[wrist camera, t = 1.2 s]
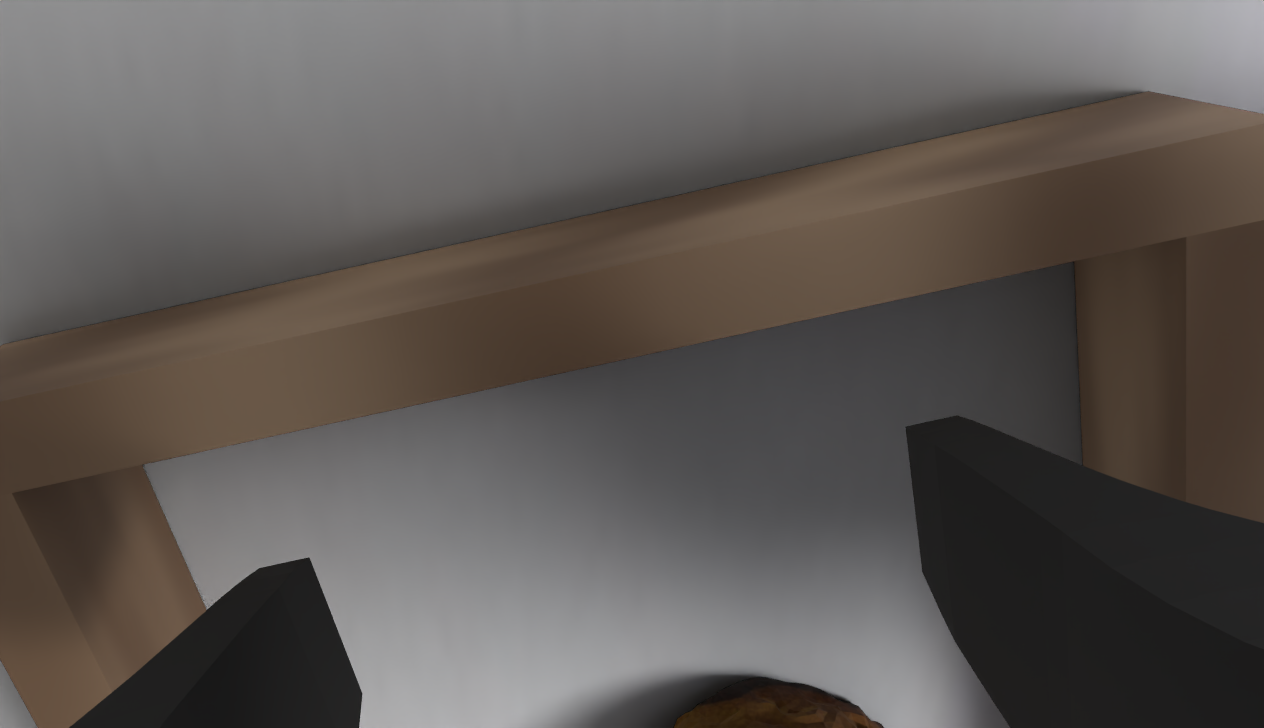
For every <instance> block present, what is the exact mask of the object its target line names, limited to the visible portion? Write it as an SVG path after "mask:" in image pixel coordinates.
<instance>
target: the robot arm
mask: <svg viewBox="0 0 1264 728" xmlns="http://www.w3.org/2000/svg"><path fill="white" fill-rule="evenodd" d="M906 434H907V443H908V452H909V460H910V469H911V478H912V486H913V495H914V503H915V512H916V521H917V529H918V538H919V547H920V555H921V564H922V572H923V574H924V577H925V579H926V581H927V583H928V585H929V587H930V590H931V592H932V594H933V596H934V598H935V601H936V603H937V605H938V607H939V609H940V612H941V614H942V616H943V618H944V620H945V622H946V624H947V626H948V628H949V630H950V632H951V634H952V636H953V638H954V640H955V642H956V644H957V645H958V647H959V649H960V650H961V652H962V653H963V655H964V657H965V658H966V660H967V661H968V663H969V664H970V666H971V667H972V669H973V671H974V672H975V674H976V675H977V677H978V678H979V680H980V681H981V683H982V685H983V686H984V688H985V689H986V691H987V692H988V694H989V695H990V697H991V699H992V700H993V702H994V703H995V705H996V706H997V708H998V709H999V711H1000V712H1001V714H1002V715H1003V717H1004V718H1005V720H1006V721H1007V723H1008V725H1009V726H1010V728H1264V523H1262V522H1258V521H1254V520H1250V519H1246V518H1242V517H1238V516H1234V515H1230V514H1227V513H1223V512H1219V511H1215V510H1211V509H1208V508H1204V507H1201V506H1198V505H1194V504H1191V503H1188V502H1184V501H1181V500H1178V499H1175V498H1172V497H1169V496H1166V495H1163V494H1160V493H1157V492H1154V491H1151V490H1148V489H1145V488H1142V487H1139V486H1136V485H1133V484H1130V483H1127V482H1125V481H1122V480H1119V479H1117V478H1114V477H1111V476H1108V475H1106V474H1103V473H1100V472H1098V471H1095V470H1093V469H1090V468H1087V467H1085V466H1082V465H1080V464H1077V463H1075V462H1072V461H1070V460H1067V459H1065V458H1062V457H1060V456H1057V455H1055V454H1052V453H1050V452H1048V451H1045V450H1043V449H1040V448H1038V447H1036V446H1033V445H1031V444H1028V443H1026V442H1024V441H1021V440H1019V439H1016V438H1014V437H1012V436H1009V435H1007V434H1005V433H1002V432H1000V431H997V430H995V429H992V428H990V427H988V426H985V425H982V424H980V423H977V422H975V421H972V420H969V419H966V418H963V417H960V416H953V417H948V418H944V419H939V420H934V421H930V422H925V423H921V424H916V425H912V426H907V427H906ZM361 702H362V692H361V689H360V687H359V684H358V681H357V679H356V676H355V674H354V671H353V669H352V666H351V663H350V661H349V658H348V656H347V653H346V651H345V648H344V645H343V643H342V640H341V638H340V635H339V633H338V630H337V627H336V625H335V622H334V620H333V617H332V615H331V612H330V609H329V607H328V604H327V602H326V599H325V597H324V594H323V591H322V589H321V586H320V584H319V581H318V579H317V576H316V573H315V571H314V568H313V566H312V563H311V561H310V558H304V559H300V560H295V561H291V562H286V563H281V564H277V565H272V566H268V567H263V568H259V569H258V570H256V571H255V572H253V573H252V574H250V575H249V576H248V577H246V578H245V579H244V580H242V581H241V582H240V583H238V584H237V585H236V586H235V587H233V588H232V589H231V590H230V591H229V592H227V593H226V594H225V595H224V596H223V597H221V598H220V599H219V600H218V601H217V602H216V603H214V604H213V605H212V606H211V607H210V608H209V609H207V610H206V611H205V612H204V613H203V614H202V615H201V616H199V617H198V618H197V619H196V620H195V621H194V622H193V623H192V624H190V625H189V626H188V627H187V628H186V629H185V630H184V631H182V632H181V633H180V634H179V635H178V636H177V637H176V638H175V639H173V640H172V641H171V642H170V643H169V644H168V645H167V646H165V647H164V648H163V649H162V650H161V651H160V652H159V653H157V654H156V655H155V656H154V657H153V658H152V659H151V660H149V661H148V662H147V663H146V664H145V665H144V666H143V667H142V668H140V669H139V670H138V671H137V672H136V673H135V674H133V675H132V676H131V677H130V678H129V679H128V680H126V681H125V682H124V683H123V684H121V685H120V686H119V687H118V688H117V689H115V690H114V691H113V692H112V693H111V694H109V695H108V696H107V697H106V698H104V699H103V700H102V701H101V702H100V703H98V704H97V705H96V706H95V707H94V708H92V709H91V710H90V711H89V712H87V713H86V714H85V715H84V716H83V717H81V718H80V719H79V720H78V721H76V722H75V723H74V724H73V725H72V726H70V727H69V728H359V722H360V712H361Z"/></svg>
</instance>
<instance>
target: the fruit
mask: <svg viewBox="0 0 1264 728" xmlns="http://www.w3.org/2000/svg"><path fill="white" fill-rule="evenodd" d="M674 728H884V727H883V726H882V724H880V723H878V722H875V721H871V720H870V719H869V718H868V717H867V716H866V715H865V714H864V712H863V711H862V710H861V709H860V707H859V706H857V705H854V704H851V703H849V702H845V701H840V700H838V699H835V698H834V697H833V696H831V695H830V694H828V693H826V692H825V691H822V690H820V689H818V688H815V687H812V686H809V685H805V684H799V683H788V682H783V681H779V680H774V679H770V678H752V679H748V680H745V681H742V682H738V683H735V684H734V685H732V686H730V687H727V688H725V689H723V690H721V691H719V692H717V693H716V694H715V695H714V696H712V697H711V698H709V699H707V700H705V701H704V702H702V703H700V704H698V705H697V706H696V707H695V708H694V709H693V710H692V711H690V712H687V713H685V714H684V715H682V716H681V717H679V718H677V721H676V724H675V726H674Z"/></svg>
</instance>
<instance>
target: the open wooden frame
mask: <svg viewBox="0 0 1264 728" xmlns="http://www.w3.org/2000/svg"><path fill="white" fill-rule="evenodd" d="M1069 262H1074V269H1075V292H1076V316H1077V339H1078V363H1079V386H1080V410H1081V433H1082V456H1083V466H1085V467H1087V468H1090V469H1093V470H1095V471H1098V472H1100V473H1103V474H1106V475H1108V476H1111V477H1114V478H1117V479H1119V480H1122V481H1125V482H1127V483H1130V484H1133V485H1136V486H1139V487H1142V488H1145V489H1148V490H1151V491H1154V492H1157V493H1160V494H1163V495H1166V496H1169V497H1172V498H1175V499H1178V500H1181V501H1184V502H1188V503H1191V504H1194V505H1198V506H1201V507H1204V508H1208V509H1211V510H1215V511H1219V512H1223V513H1227V514H1230V515H1234V516H1238V517H1242V518H1246V519H1250V520H1254V521H1258V522H1262V523H1264V114H1261V113H1256V112H1251V111H1245V110H1240V109H1235V108H1230V107H1225V106H1220V105H1215V104H1210V103H1205V102H1200V101H1195V100H1190V99H1185V98H1180V97H1174V96H1169V95H1164V94H1159V93H1154V92H1149V91H1147V92H1143V93H1138V94H1134V95H1129V96H1125V97H1120V98H1116V99H1111V100H1107V101H1102V102H1098V103H1093V104H1089V105H1084V106H1080V107H1075V108H1071V109H1066V110H1061V111H1057V112H1052V113H1048V114H1043V115H1039V116H1034V117H1030V118H1025V119H1021V120H1016V121H1012V122H1007V123H1003V124H998V125H994V126H989V127H985V128H980V129H976V130H971V131H966V132H962V133H957V134H953V135H948V136H944V137H939V138H935V139H930V140H926V141H921V142H917V143H912V144H908V145H903V146H899V147H894V148H890V149H885V150H880V151H876V152H871V153H867V154H862V155H858V156H853V157H849V158H844V159H840V160H835V161H831V162H826V163H822V164H817V165H813V166H808V167H804V168H799V169H795V170H790V171H785V172H781V173H776V174H772V175H767V176H763V177H758V178H754V179H749V180H745V181H740V182H736V183H731V184H727V185H722V186H718V187H713V188H709V189H704V190H699V191H695V192H690V193H686V194H681V195H677V196H672V197H668V198H663V199H659V200H654V201H650V202H645V203H641V204H636V205H632V206H627V207H623V208H618V209H614V210H609V211H604V212H600V213H595V214H591V215H586V216H582V217H577V218H573V219H568V220H564V221H559V222H555V223H550V224H546V225H541V226H537V227H532V228H528V229H523V230H518V231H514V232H509V233H505V234H500V235H496V236H491V237H487V238H482V239H478V240H473V241H469V242H464V243H460V244H455V245H451V246H446V247H442V248H437V249H433V250H428V251H423V252H419V253H414V254H410V255H405V256H401V257H396V258H392V259H387V260H383V261H378V262H374V263H369V264H365V265H360V266H356V267H351V268H347V269H342V270H337V271H333V272H328V273H324V274H319V275H315V276H310V277H306V278H301V279H297V280H292V281H288V282H283V283H279V284H274V285H270V286H265V287H261V288H256V289H252V290H247V291H242V292H238V293H233V294H229V295H224V296H220V297H215V298H211V299H206V300H202V301H197V302H193V303H188V304H184V305H179V306H175V307H170V308H166V309H161V310H156V311H152V312H147V313H143V314H138V315H134V316H129V317H125V318H120V319H116V320H111V321H107V322H102V323H98V324H93V325H89V326H84V327H80V328H75V329H71V330H66V331H61V332H57V333H52V334H48V335H43V336H39V337H34V338H30V339H25V340H21V341H16V342H12V343H7V344H3V345H2V346H0V660H1V662H2V663H3V665H4V667H5V669H6V671H7V672H8V674H9V676H10V678H11V680H12V682H13V683H14V685H15V687H16V689H17V691H18V692H19V694H20V696H21V698H22V700H23V702H24V703H25V705H26V707H27V709H28V711H29V712H30V714H31V716H32V718H33V720H34V721H35V723H36V725H37V727H38V728H69V727H70V726H72V725H73V724H74V723H75V722H76V721H78V720H79V719H80V718H81V717H83V716H84V715H85V714H86V713H87V712H89V711H90V710H91V709H92V708H94V707H95V706H96V705H97V704H98V703H100V702H101V701H102V700H103V699H104V698H106V697H107V696H108V695H109V694H111V693H112V692H113V691H114V690H115V689H117V688H118V687H119V686H120V685H121V684H123V683H124V682H125V681H126V680H128V679H129V678H130V677H131V676H132V675H133V674H135V673H136V672H137V671H138V670H139V669H140V668H142V667H143V666H144V665H145V664H146V663H147V662H148V661H149V660H151V659H152V658H153V657H154V656H155V655H156V654H157V653H159V652H160V651H161V650H162V649H163V648H164V647H165V646H167V645H168V644H169V643H170V642H171V641H172V640H173V639H175V638H176V637H177V636H178V635H179V634H180V633H181V632H182V631H184V630H185V629H186V628H187V627H188V626H189V625H190V624H192V623H193V622H194V621H195V620H196V619H197V618H198V617H199V616H201V615H202V614H203V613H204V612H205V611H206V608H205V605H204V603H203V601H202V599H201V596H200V594H199V592H198V590H197V587H196V585H195V583H194V581H193V578H192V576H191V574H190V572H189V569H188V567H187V565H186V563H185V560H184V558H183V556H182V554H181V551H180V549H179V547H178V545H177V542H176V540H175V538H174V536H173V533H172V531H171V529H170V527H169V524H168V522H167V520H166V518H165V515H164V513H163V511H162V509H161V506H160V504H159V502H158V500H157V497H156V495H155V493H154V491H153V488H152V486H151V484H150V482H149V479H148V477H147V475H146V473H145V470H144V468H143V466H142V465H143V464H148V463H152V462H157V461H161V460H166V459H171V458H175V457H180V456H184V455H189V454H193V453H198V452H203V451H207V450H212V449H216V448H221V447H226V446H230V445H235V444H239V443H244V442H248V441H253V440H258V439H262V438H267V437H271V436H276V435H281V434H285V433H290V432H294V431H299V430H303V429H308V428H313V427H317V426H322V425H326V424H331V423H336V422H340V421H345V420H349V419H354V418H358V417H363V416H368V415H372V414H377V413H381V412H386V411H391V410H395V409H400V408H404V407H409V406H413V405H418V404H423V403H427V402H432V401H436V400H441V399H446V398H450V397H455V396H459V395H464V394H468V393H473V392H478V391H482V390H487V389H491V388H496V387H501V386H505V385H510V384H514V383H519V382H523V381H528V380H533V379H537V378H542V377H546V376H551V375H556V374H560V373H565V372H569V371H574V370H578V369H583V368H588V367H592V366H597V365H601V364H606V363H611V362H615V361H620V360H624V359H629V358H634V357H638V356H643V355H647V354H652V353H656V352H661V351H666V350H670V349H675V348H679V347H684V346H689V345H693V344H698V343H702V342H707V341H711V340H716V339H721V338H725V337H730V336H734V335H739V334H744V333H748V332H753V331H757V330H762V329H766V328H771V327H776V326H780V325H785V324H789V323H794V322H799V321H803V320H808V319H812V318H817V317H821V316H826V315H831V314H835V313H840V312H844V311H849V310H854V309H858V308H863V307H867V306H872V305H876V304H881V303H886V302H890V301H895V300H899V299H904V298H909V297H913V296H918V295H922V294H927V293H931V292H936V291H941V290H945V289H950V288H954V287H959V286H964V285H968V284H973V283H977V282H982V281H986V280H991V279H996V278H1000V277H1005V276H1009V275H1014V274H1019V273H1023V272H1028V271H1032V270H1037V269H1041V268H1046V267H1051V266H1055V265H1060V264H1064V263H1069Z"/></svg>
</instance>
